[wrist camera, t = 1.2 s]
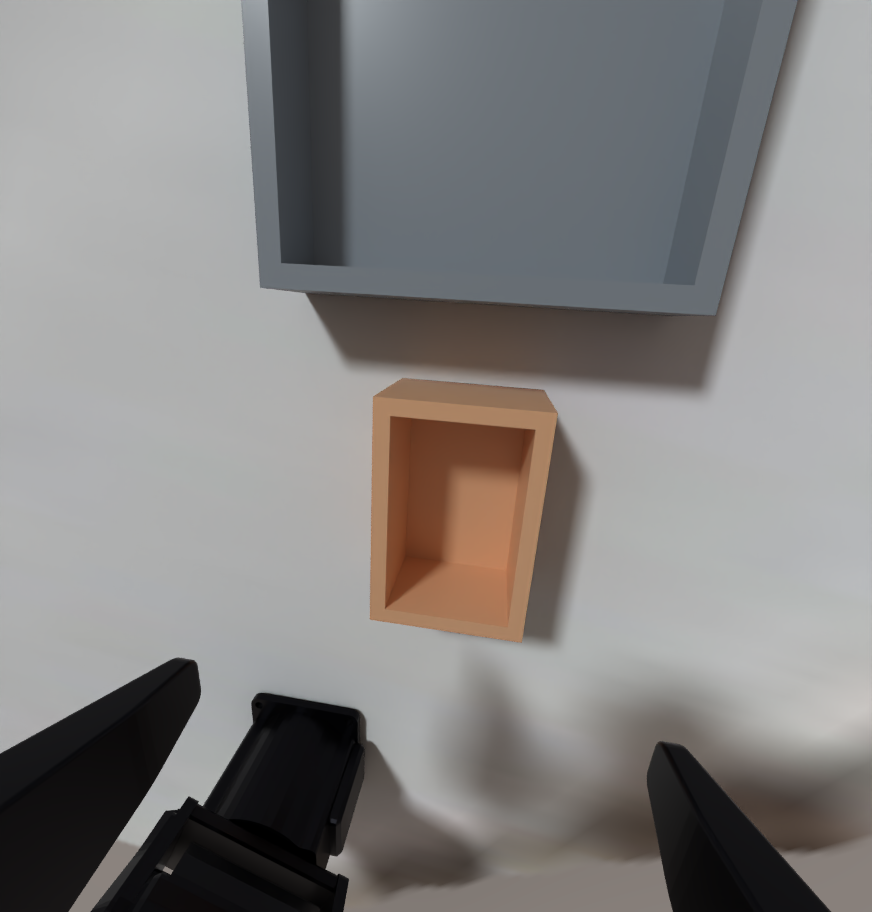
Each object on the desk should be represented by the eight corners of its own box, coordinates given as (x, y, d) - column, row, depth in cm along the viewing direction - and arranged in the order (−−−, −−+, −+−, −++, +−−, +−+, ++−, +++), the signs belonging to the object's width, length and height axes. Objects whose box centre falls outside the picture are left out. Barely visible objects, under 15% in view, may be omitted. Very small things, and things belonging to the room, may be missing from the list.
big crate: (304, 293, 18) (260, 287, 14) (287, -214, 13) (215, -393, 10) (671, 315, 16) (715, 315, 13) (801, -257, 11) (925, -490, 8)
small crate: (395, 558, 21) (369, 619, 17) (402, 378, 18) (372, 396, 14) (517, 575, 20) (521, 642, 16) (543, 390, 18) (557, 413, 13)
